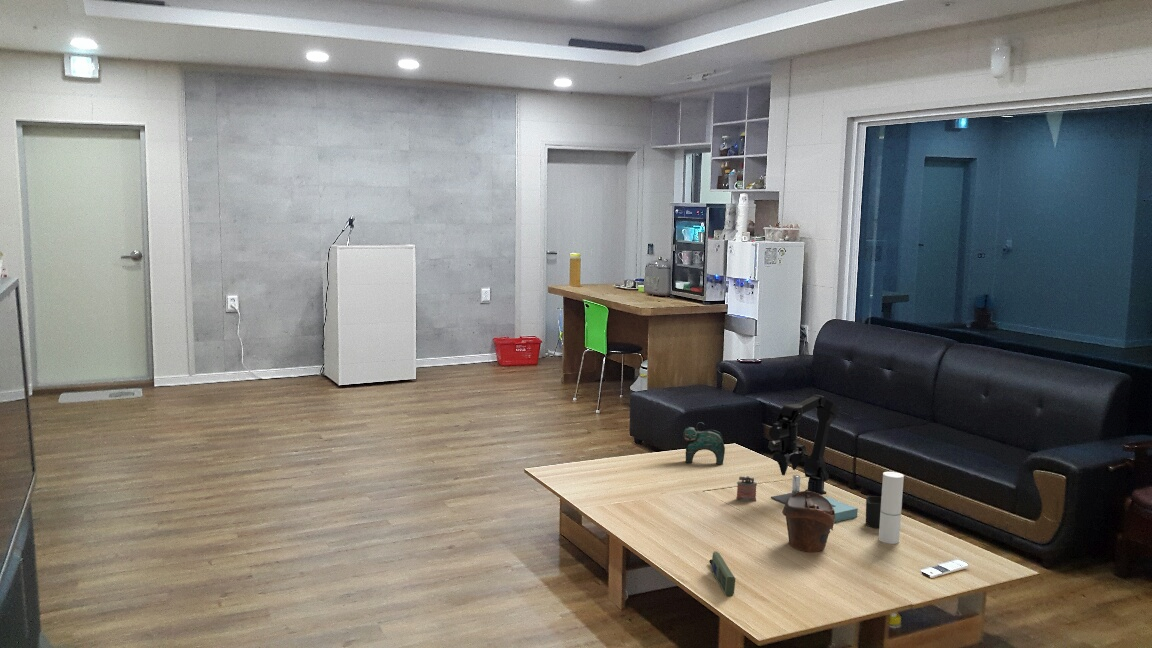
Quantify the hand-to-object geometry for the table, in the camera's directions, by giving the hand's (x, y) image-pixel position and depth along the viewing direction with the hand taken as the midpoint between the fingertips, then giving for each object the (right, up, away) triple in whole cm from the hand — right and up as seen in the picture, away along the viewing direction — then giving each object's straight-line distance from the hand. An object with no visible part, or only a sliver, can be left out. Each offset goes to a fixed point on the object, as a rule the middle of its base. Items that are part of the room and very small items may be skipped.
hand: (788, 472), depth 362 cm
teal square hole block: (+12, -14, -13) cm, 23 cm away
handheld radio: (-41, -22, -78) cm, 91 cm away
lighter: (-17, -12, +2) cm, 21 cm away
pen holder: (+28, -16, -25) cm, 41 cm away
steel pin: (+3, -11, +2) cm, 12 cm away
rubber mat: (+3, -12, +2) cm, 13 cm away
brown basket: (-5, -19, -47) cm, 51 cm away
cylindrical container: (+27, -18, -40) cm, 52 cm away
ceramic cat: (-28, -5, +54) cm, 61 cm away
